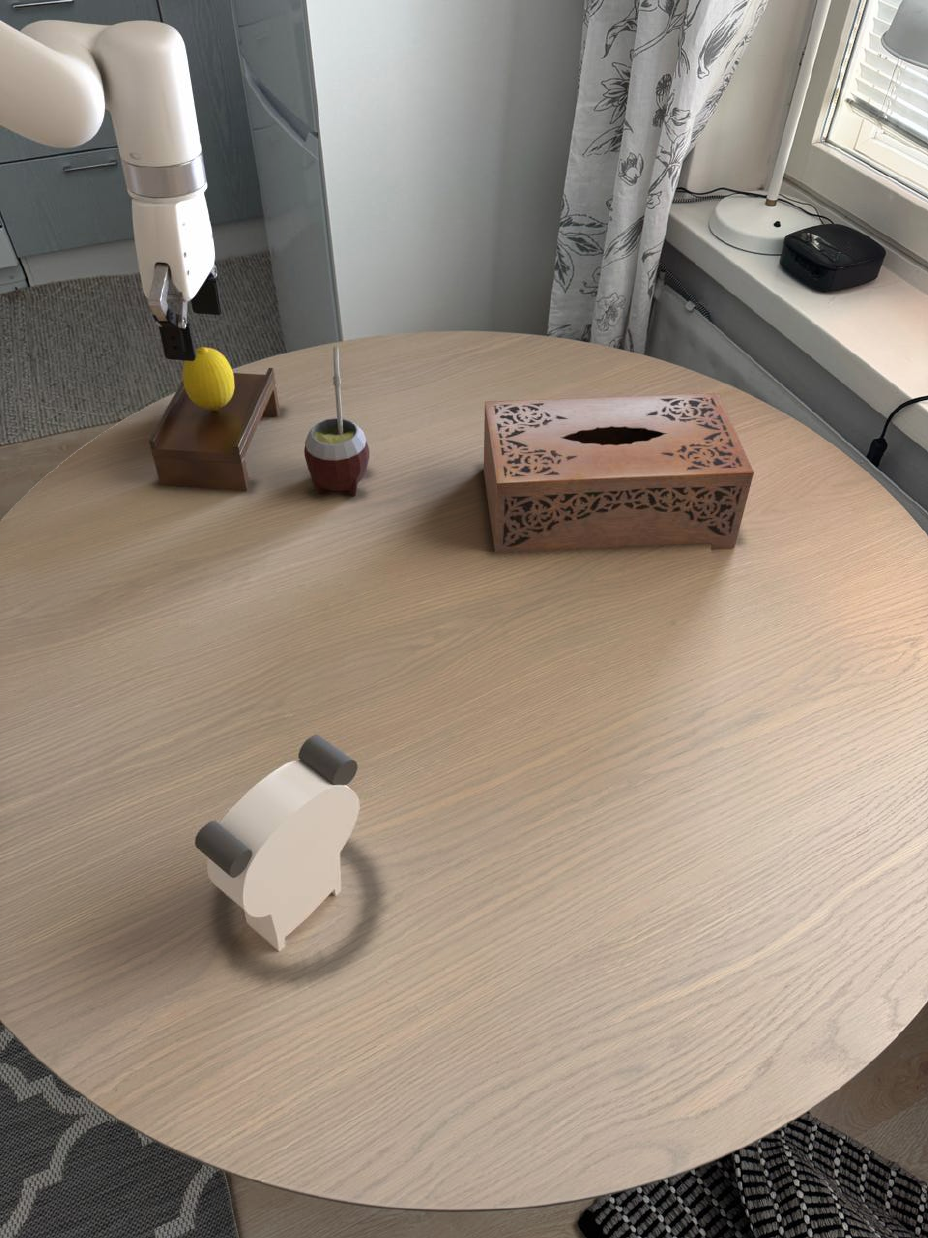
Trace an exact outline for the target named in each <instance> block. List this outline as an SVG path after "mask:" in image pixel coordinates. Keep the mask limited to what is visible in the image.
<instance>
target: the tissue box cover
mask: <svg viewBox="0 0 928 1238" xmlns="http://www.w3.org/2000/svg"><path fill="white" fill-rule="evenodd" d="M483 423H484V426H483V428H484V430H483V432H484V433H483V476H484V481H485V483H484V484H485V489H486V496H487V504H488V511H489V512H488V513H489V518H490V526H491V534H492V540H493V541H492V542H493V547H494V553H511V552H512V553H513V552H532V551H533V552H534V551H553V550H557V551H558V550H575V549H576V550H577V549H597V548H598V549H600V548H601V549H602V548H620V547H623V548H624V547H641V546H642V547H643V546H644V547H645V546H660V545H661V546H665V545H684V544H685V545H689V544H710V549H711V550H716V549H718V550H719V549H735V547H736V543H737V540H738V536H739V532H740V528H741V525H742V521H743V518H744V517H743V516H744V513H745V508H746V506H747V503H748V502H747V501H748V497H749V493H750V490H751V486H752V482H753V478H754V475H755V472H754V469H753V467H752V464H751V463H750V460H749V458H748V456H747V454H746V451H745V449H744V446H743V445H742V442H741V440H740V438H739V436H738V434H737V432H736V429H735V427H734V425H733V422H732V420H731V419H730V416H729V413H728V412H727V409H726V407H725V405H724V402H723V400H722V397H721V396H720V393H719V392H709V393H708V392H703V393H702V392H701V393H684V394H683V393H679V394H678V393H677V394H676V393H675V394H653V395H652V394H650V395H626V396H598V397H597V396H596V397H574V398H573V397H571V398H569V397H568V398H546V399H542V398H541V399H520V400H519V399H517V400H493V401H491V400H490V401H484V422H483Z"/></svg>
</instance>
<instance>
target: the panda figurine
mask: <svg viewBox="0 0 928 1238" xmlns="http://www.w3.org/2000/svg"><path fill="white" fill-rule="evenodd" d="M358 767H359V765H358V763H357V761H356V760H354V759H353V758H352V757H350V756H349V755H347V754H346V753H345V752H343V751H342V750H340V749H339V748H338V747H336V746H335V745H333V744H332V743H331V742H329V741H328V740H326V738H324V737H323V736H321V735H319V734H315V735H311V736H310V737H308V738H307V739H305V740H304V742H303V744H302V745H301V747H300V749H299V751H298V759H296V760H295V759H294V760H292V761H290V762H287V763H285V764H283V765H281V766H280V767H278V768H277V769H275V770H273V771H272V772H271V773H269V774H267V775H266V776H265V777H264V778H262V779H261V780H259V782H257V783H256V784H255V785H254V786H253V787H251V788H250V789H249V790H248V791H247V792H246V793H245V794H244V795H243V796H242V797H241V798H240V799H239V800H237V801H236V803H235V804H234V805H233V806H232V807H231V808H230V809H229V811H228V812H227V813H226V814H225V815H224V817H222V819H221V821H219V822H220V823H218V821H216V820H211V821H209V822H207V823H206V824H205V825H203V826H202V827H201V828H200V829H199V830H198V832H197V833H196V835H195V837H194V845H195V847H196V848H197V849H198V851H200V852H201V853H202V854H203V855H204V856H206V871H207V876H208V878H209V880H210V882H211V883H212V884H214V885H215V886H216V887H217V888H218V889H219V890H220V891H221V892H222V893H224V894H225V895H226V896H227V897H228V898H229V899H231V901H233V902H234V903H235V904H236V905H238V907H240V908H241V909H242V910H243V912H244V919H245V923H246V924H247V925H248V926H249V927H251V928H252V930H253V931H255V932H256V933H257V934H258V935H260V936H261V937H262V938H263V939H264V940H265V941H266V942H268V943H269V944H270V945H271V946H272V947H273V948H275V949H276V950H277V951H278V952H281V951H282V950H283V949H284V948H285V947H286V938H287V936H289V935H290V934H291V933H292V932H293V931H294V930H296V928H297V927H299V926H300V925H301V924H302V923H304V922H305V920H306V919H307V918H309V917H310V915H312V914H313V912H315V910H316V909H318V907H320V905H321V904H322V903H323V902H324V901H325V900H326V899H327V898H328V896H329V895H331V893H332V894H333V895H334V896H335V897H336V896H338V895H339V894H340V893H341V892H342V873H341V872H342V871H341V852H342V851H343V849H344V847H345V846H346V844H347V842H348V841H349V838H350V836H351V834H352V833H353V830H354V828H355V825H356V823H357V819H358V817H359V813H360V810H361V809H360V807H361V806H360V805H361V804H360V798H359V797H358V794H357V793H356V792H355V791H354V790H353V789H352V788H350V787H349V786H348V784H349V783H350V782H352V780H353V779H354V778H355V776H356V774H357V771H358Z"/></svg>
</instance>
